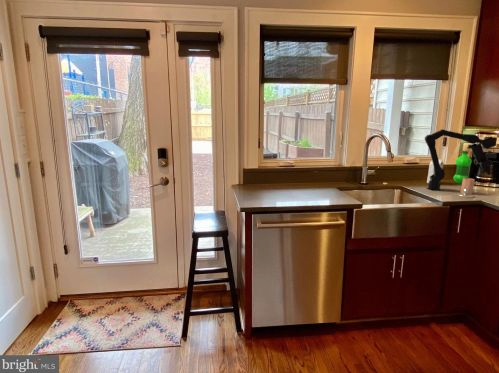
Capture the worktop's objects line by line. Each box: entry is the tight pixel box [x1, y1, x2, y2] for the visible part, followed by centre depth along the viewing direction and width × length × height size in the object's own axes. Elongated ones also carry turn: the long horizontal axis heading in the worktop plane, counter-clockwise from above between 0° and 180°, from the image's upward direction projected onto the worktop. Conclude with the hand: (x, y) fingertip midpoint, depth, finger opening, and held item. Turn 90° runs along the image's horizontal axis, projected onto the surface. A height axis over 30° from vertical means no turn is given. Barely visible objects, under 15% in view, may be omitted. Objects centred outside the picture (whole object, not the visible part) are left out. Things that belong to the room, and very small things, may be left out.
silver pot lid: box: [456, 188, 475, 199], centre depth 217 cm, size 10×10×5 cm
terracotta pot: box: [459, 177, 475, 195], centre depth 223 cm, size 6×6×10 cm
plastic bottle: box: [452, 150, 472, 185], centre depth 254 cm, size 10×10×25 cm
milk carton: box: [426, 158, 444, 184], centre depth 251 cm, size 7×7×19 cm
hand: (487, 173), depth 219 cm, fingers open, 9 cm apart
